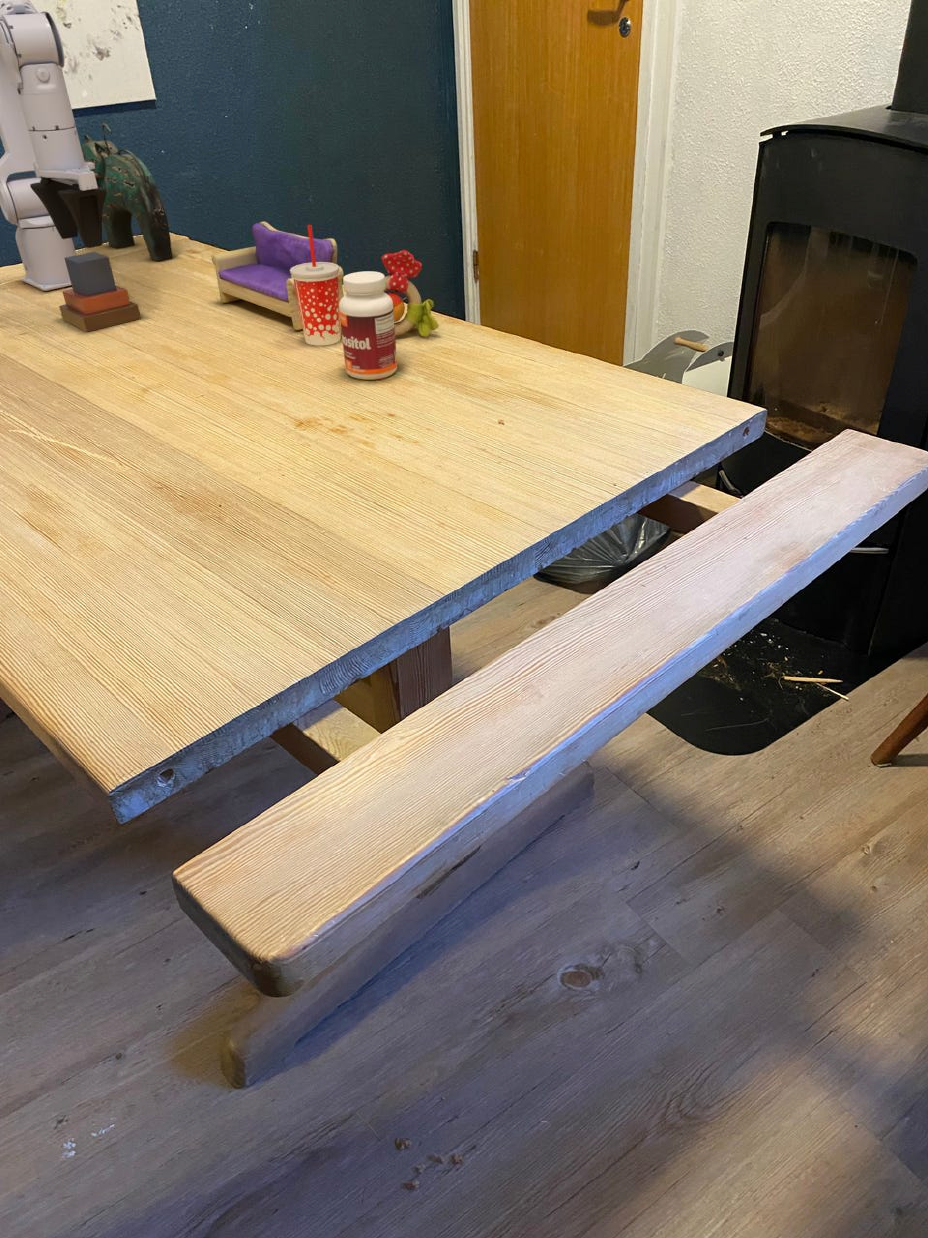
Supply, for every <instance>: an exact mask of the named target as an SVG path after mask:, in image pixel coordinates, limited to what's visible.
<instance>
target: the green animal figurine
mask: <svg viewBox="0 0 928 1238" xmlns="http://www.w3.org/2000/svg"><path fill="white" fill-rule="evenodd" d="M105 128H106V130H107V131H108V132H109V133H110V134H113V131H112V129H111V128H110V126H109V125H108V123H106V122H102V125H101V131H102V134H103V135H102V136H103V140H99V141H98V140H97V141H96V140H94V139H92V138H90V136H88V134H86V133H83V137H84V143H83V144H82V145H81V149H82V153H83V157H84V161H85V162H92V163H94V165H95V169H91V170H90V171H93V172H94V174H95V178H96V182H97V187H103V188H106V191H107V195H106V198H105V202H104V206H103V214H102V226H103V227H104V231H105V234H106V238H107V242H108V246H109V247H112V248H113V249H124V248H128V247H129V248H130V247H133V246H135V238H134V234H133V229H132V220H133V217H134V219H135V221H136V222H137V224H138V226H139V229H140V232H141V234H142V237H143V240H144V243H145V246H146V249H147V252H148V254H149V256H150V259H151V260H152V261H154V262H155V261H156V262H163V261H166V260H170V259H171V260H172V259H173V250H172V240H171V233H170V227H169V221H168V215H167V213H166V210H165V207H164V204H163V200H162V197H161V194H160V191H159V188H158V185H157V183H156V182H155V179H154V178H153V175H152V173H151V171H150V170H149V169H148V167H147V166H146V165H145V163H144V162H143V161H142V160H141V159H140V158H138V157H137V156H136V155H135V154H134V153H133V152H131V150H128V149H127V148H121V149H119V150H118V148H117V146H116V145H115V144H114V143H113V142H112V141H110V140H107V137H106V135H105ZM121 152H125V153H126V154H125V153H124V154H121Z"/></svg>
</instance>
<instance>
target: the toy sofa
mask: <svg viewBox="0 0 928 1238" xmlns="http://www.w3.org/2000/svg"><path fill="white" fill-rule="evenodd" d="M251 233H252V236H253V241H254V245H255V246H251V247H245V248H239V249H233V250H229V251H223V252H218V253H214V254H211V261H212V264H213V266H214V270H215V273H216V274H215V275H216V280H217V286H218V291H219V292H218V293H219V298H220V302H221V303H223V304H225V303H232V302H234V301H235V302H236V301H239V300H243V301H246V302H249V303H252V304H255V305H257V306H260V307H263V308H265V309H268V310H271V311H274V312H276V313H278V314H281V315H284V316H286V317H289V318H291V321H292V327H293V329H294V330H296V331H299V330H303V326H302V321H301V316H300V311H299V305H298V300H297V295H296V290H295V285H294V279H293V278H292V277H291V273H290V269H291V268H292V267H294V266H296V265H300V264H304V263H312V258H311V250H310V242H309V236H303V235H300V234H295V233H290V232H285V231H281V230H278V229H276V228H275V227H273V226H272V225H271V224H269V223H268V222H267V221H260V222H256V223H254V224H253V226H252V228H251ZM313 242H314V251H315V259H316V262H328V263H334V264H337V261H338V244H337V242H336V239H334V238H333V237H332V238H323V239H320V238H313ZM338 266H339V273H340V274H339V276H338V289H339V303H340V300H341V299H342V298H343V297H344V296H345V295H344V285H343V277H344V276H345V275H344V270H343V268H342V267H341V266H340V265H338Z"/></svg>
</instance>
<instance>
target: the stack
mask: <svg viewBox="0 0 928 1238" xmlns="http://www.w3.org/2000/svg"><path fill="white" fill-rule="evenodd" d="M116 289H117V290H113V291H109V292H105V293H100V294H96V295H91V296H84V295H82V294H80V293H78V292H75V291H73V288H70V289H66V290H62V291H61V293H62V295H63V299H64V303H65V304H61V305H58V307H59V311H60V315H61V319H62V320H63V321H64V322H67V323H68V324H70V325H72V326H74V327H75V328H78V329H80V330H82V331H84V332H86V333H89V332H94V331H98V330H101V329H104V328H109V327H113V326H117V325H122V324H124V323H129V322H133V321H136V320H137V321H138V320H141V319H142V317H141V313H140V312H141V311H140V308H139V304H138V303H135V302H133V301H131V300H130V297H129V293H128V290H127V288H126V289H125V288H124V287H121V286H119V285H116Z"/></svg>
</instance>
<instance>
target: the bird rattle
mask: <svg viewBox="0 0 928 1238" xmlns="http://www.w3.org/2000/svg"><path fill="white" fill-rule="evenodd" d="M381 262H382V263H383V266H384V268H385V269H386V272H387V274H388V275H386V276H384V277H385V284H386V286H385V289H384V290H383V292H384V293H386V294H388V295H389V296H390V297H391V299H392V301H393V310H394V325H395V336H398V335H403V334H405V333H406V332H408V331H409V332H411V331H412V330H414V329H415V328H417V327H418V328H417V329H418V333H419V335H420V336H421V337H423V338H428V337H429V335H430V334H431V331H436V330H437V329H438V327H439V323H438V321H437V320H436V319H435V317H434V316H433V314H432V309H433V308H434V305H435V304H434V301H433V300H432V299H426V300H424V302H422V298H421V294H420V293H419V291H418V289H417V287H416V286H415V284H413V282H412V281H410V280H409V279H410V278H412V279H413V278H416V277H417V276H419V274H420V272H421V271H422V269H423V268H422V267H423V264H422V262H420V261H418V260H416V259H415V258H414V255H413V254H412V253H410V252H409V251H408V250H406V249H403V250H400V251H398V252H395V253H385V254H383V255H382V256H381ZM394 291H395V292H394ZM399 293H400V294H404V295H405V297H403V298H402V297H401V295H399ZM405 300H408V303H407V305H405V302H404V301H405ZM405 309H406V313H405ZM403 316H404V318H403ZM402 318H403V319H402Z"/></svg>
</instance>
